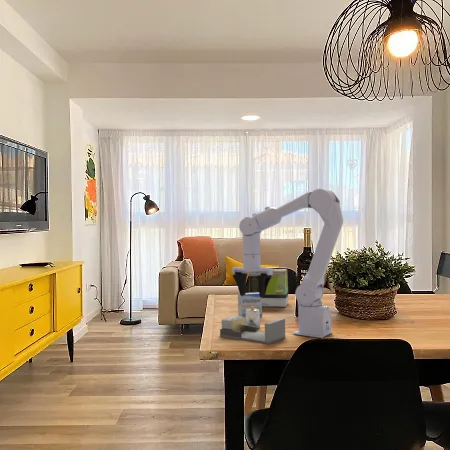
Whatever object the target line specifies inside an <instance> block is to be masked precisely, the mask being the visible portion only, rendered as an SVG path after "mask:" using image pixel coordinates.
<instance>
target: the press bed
mask: <svg viewBox="0 0 450 450" xmlns="http://www.w3.org/2000/svg"><path fill="white" fill-rule="evenodd" d="M257 330H258V329H257ZM257 330H256V327H255V326H248V325H246V330H244V331H241V332H239V331H232V330H225V329H222V328H220V329H219V337H223V338H228V339H235V340H241V341H248V342H254V343H260V344H267V345H272V344H274V343H276V342H279V341H281V340H283V339H286V318H282V317H279V318H277V319H274V320H272V321H269V322H266V323H264V332H263V331H257Z"/></svg>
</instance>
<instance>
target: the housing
mask: <svg viewBox="0 0 450 450" xmlns="http://www.w3.org/2000/svg"><path fill="white" fill-rule="evenodd" d="M245 319H246V325H248V326H255V327H256V330H260V329H261V323H260V322H261V320H260V319H261V317H260V310H259V309H254V306H251V309H246V318H245Z"/></svg>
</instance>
